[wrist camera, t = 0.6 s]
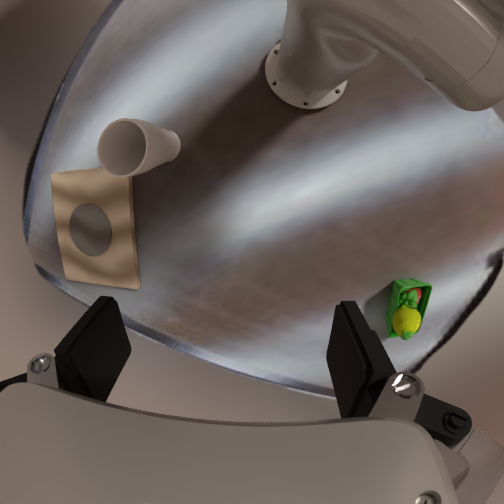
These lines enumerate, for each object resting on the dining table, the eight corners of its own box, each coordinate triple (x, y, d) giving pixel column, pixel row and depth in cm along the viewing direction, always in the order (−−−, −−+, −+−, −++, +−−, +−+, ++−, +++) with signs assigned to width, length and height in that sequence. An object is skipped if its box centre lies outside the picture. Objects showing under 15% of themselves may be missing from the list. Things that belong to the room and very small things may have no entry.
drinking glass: (178, 118, 37) (138, 106, 23) (192, 157, 39) (157, 163, 25) (141, 136, 38) (89, 135, 24) (154, 173, 40) (107, 188, 26)
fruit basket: (408, 319, 50) (431, 352, 39) (373, 324, 50) (393, 361, 40) (420, 272, 46) (450, 300, 35) (383, 275, 46) (410, 307, 35)
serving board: (55, 172, 40) (50, 173, 38) (132, 165, 40) (127, 166, 38) (69, 276, 48) (65, 280, 46) (140, 285, 48) (137, 290, 46)
